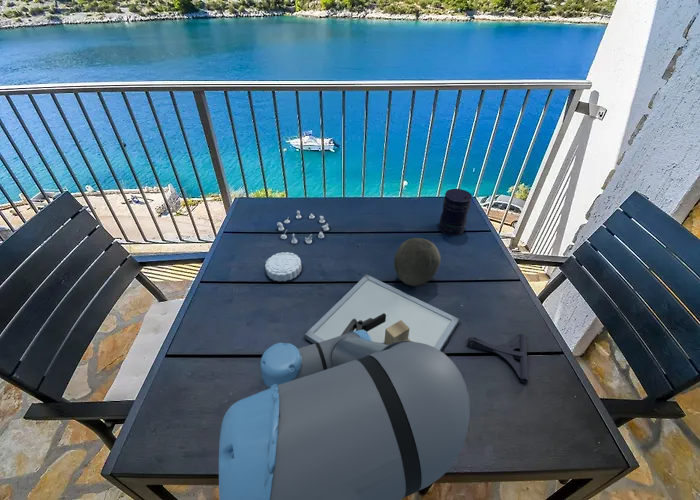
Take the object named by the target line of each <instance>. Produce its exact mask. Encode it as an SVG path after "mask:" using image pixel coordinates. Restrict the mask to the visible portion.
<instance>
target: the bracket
mask: <svg viewBox="0 0 700 500" xmlns="http://www.w3.org/2000/svg"><path fill="white" fill-rule="evenodd" d="M467 344H468V346H470V347H471V348H475V349H479V350H482V351H486V352H490V353H493V354H497V355H498V356H499V357H501V358H502V359H504V360H505V361H506V362H507V363H508V364H509V365H510V366H511V367H512V369H513V370H514V372H515V373H516V375H517V378H518V379H520V382H521V383H529V372H528V371H529V370H528V350H527V349H528V348H527V346H528V345H527V335H526V334H525V333H520V334H519V335H518V336H517V337H516V338H515V339H514V340H513V341H511V342H510V343H508V344H502V345H498V344H492V343H489V342H488V341H487V342H486V341H484V340H482V339H480V338H477V337H476V336H470V337H468V339H467ZM518 350H519V351H518ZM516 360H519V362H518V361H516Z"/></svg>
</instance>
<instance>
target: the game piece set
mask: <svg viewBox="0 0 700 500" xmlns="http://www.w3.org/2000/svg"><path fill="white" fill-rule="evenodd" d="M296 214H297V215H296V216H295V218H296V219H297V220H299V219H302V215H301V212H300V210H296ZM308 218H309V219H312V220H313V219H315V218H316V216H315V215H314V214H313V213H312V212H311V213H310V215H309V216H308ZM290 222H291V220H289V216H287V219H285V220H284V221H283V222H280V221H279V222H277V223H276V225H277V227H278V231H279V232H282V231H284V230H285V231H284V233H283V234H281V235H280V239H281V240H285V239H287V238H288V236H287V235H286V233H287V231H288V229H285V227H284V225H283V223H284V224H290ZM318 222H319V224H324V223H325V222H326V220H325V217H324V216H323V215H319V221H318ZM321 228H322V230H323V231H324V232H325V231H326V232H327V231H329V230H330V227H329V223H325V224H324V225H322V226H321ZM291 236H292V238H291V242H290V243H291V244H294V245H295V244H297V243H298V239H297V238H296V237H295V233H292V235H291ZM312 236H313V234H312V233H311V234H310V235H309V236H308V237H305V236H304V241H305V243H306V244H308V245H309V244H312V243H313V240H312V239H313V237H312ZM317 238H318V239H324V238H325V235H324V233H323V232H322V231H319V233H318V236H317Z"/></svg>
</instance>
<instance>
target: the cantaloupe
mask: <svg viewBox="0 0 700 500" xmlns="http://www.w3.org/2000/svg"><path fill="white" fill-rule="evenodd" d="M441 259H442V258H441V253H440V251H439V249H438V248H437V246H436V245H435V243H433V242H432V241H431V240H429V239H425V238H422V237H412V238H409V239H407V240H404V241H403V242H402V243H400V244H399V246H398V248H397V250H396V252H395V255H394V259H393V267H394V270H395V274H396V275H397V277H398V279H399V280H400V281H401V282H402V283H403V284H405V285H407V286H411V287H417V286H418V287H419V286H422V285H424V284H426V283H428V282H429V281H431V280H432V279H433V277H434V276H435V275H436V274H437V272H438V270H439V268H440V265H441V261H442V260H441Z"/></svg>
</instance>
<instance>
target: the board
mask: <svg viewBox="0 0 700 500" xmlns="http://www.w3.org/2000/svg"><path fill="white" fill-rule="evenodd" d="M383 313H385V314H386V321H385V322H384V323H382V324H380V325H378V326H377V327H375V328H373V329H371V330H369V331H368V332H367V333H368V334H369V335H370V337H371V339H372V341H373V342H377V343H382V344H384V340H385V329H386V328H388V327H390V326H392V325H393V324H395V323H397V322H399V321H400V320H402V321H403V322H404V323H405V324H406V325H407V326H408V327H409V328H410V330H409V336H408V339H409V340H410V341H413V342H418V343H423V344H427V345H430V346H432V347H435V348H436V349H438V350H440V351H441V352H442V349H443V348H444V346H445V345H446V343H447V342H448V340H449V338H450V337H451V335H452V334H453V332H454V331H455V329H456V327H457V325H458V324H459V321H460V319H459V318H458V317H456V316H454V315H451V314H450V313H447V312H446V311H443V310H441V309H440V308H438V307H435V306H434V305H431V304H430V303H427V302H425V301H423V300H421V299H418V298H416V297H414V296H412V295H411V294H408V293H406V292H404V291H402V290H400V289H397V288H396V287H394V286H392V285H389V284H388V283H385V282H383V281H381V280H379V279H377V278H375V277H373V276H370V275H369V274H365V275H363V277H362V278H361V279H360V280H359V281H358V282H357V283H355V284H354V285H353V287H352V288H351V289H350V290H349V291H348V292H347V293H345V294H344V296H342V298H341V299H340V300H339V301H337V302H336V303H335V304H334V305H333V306H332V307H331V308H330V309H329V310H328V311H327V312H326V313H325V314H323V316H322V317H321V318H320V319H319V320H318V321H317V322H316V323H315V324H314V325H313V326H312V327H310V329H309V330H308V331H306V332H305V334H304V337H305V339H306V340H307V341H309V342H310V343H312V344H316V343H320V342H323V341H326V340H329V339H332V338H335V337H338V336H341V334H342V333H343V332H344V330H345V329H346V327H347V326H348V325H349V323H350V322H351V321H352V319H356V320H357V321H359V320H362V321H365V320H367V319H369V318H372V319H374V318H376V317H378V316H380V315H382V314H383ZM363 330H364V329H363ZM354 331H356V329H355V330H354ZM354 331H353V332H354Z"/></svg>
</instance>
